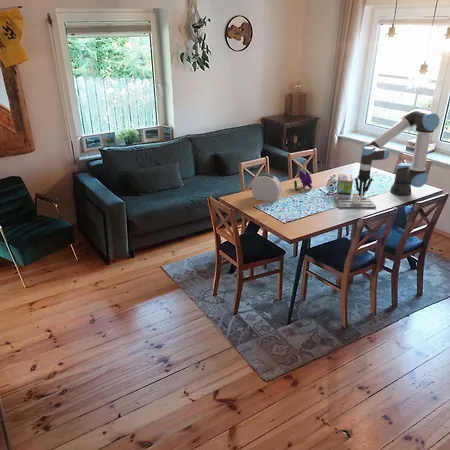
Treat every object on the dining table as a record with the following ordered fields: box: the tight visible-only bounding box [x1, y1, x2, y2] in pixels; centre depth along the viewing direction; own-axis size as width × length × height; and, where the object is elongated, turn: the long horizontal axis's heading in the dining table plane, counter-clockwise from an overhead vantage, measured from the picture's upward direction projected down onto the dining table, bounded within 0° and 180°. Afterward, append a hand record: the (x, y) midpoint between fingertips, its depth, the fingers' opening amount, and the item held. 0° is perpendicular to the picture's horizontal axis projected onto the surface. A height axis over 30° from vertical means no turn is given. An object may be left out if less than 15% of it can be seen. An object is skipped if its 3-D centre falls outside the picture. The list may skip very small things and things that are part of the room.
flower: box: [293, 170, 313, 191], centre depth 334 cm, size 15×15×14 cm
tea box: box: [336, 173, 354, 199], centre depth 321 cm, size 15×10×15 cm, turn 168°
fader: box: [351, 193, 359, 203], centre depth 306 cm, size 3×3×7 cm
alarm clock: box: [251, 173, 283, 203], centre depth 314 cm, size 21×8×20 cm, turn 65°
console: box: [334, 196, 377, 210], centre depth 307 cm, size 26×15×3 cm, turn 89°
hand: (360, 200), depth 306 cm, fingers closed
